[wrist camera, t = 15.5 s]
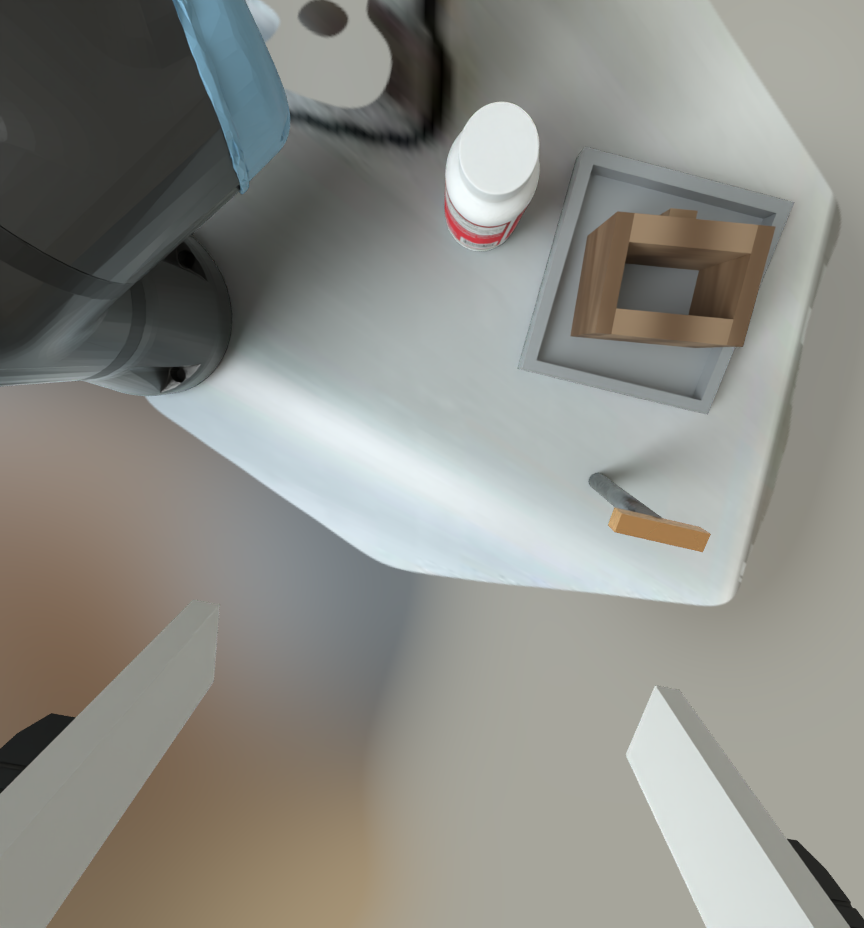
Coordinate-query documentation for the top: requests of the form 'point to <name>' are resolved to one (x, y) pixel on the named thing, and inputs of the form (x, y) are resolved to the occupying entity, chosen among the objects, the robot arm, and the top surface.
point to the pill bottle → (491, 175)
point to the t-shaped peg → (645, 519)
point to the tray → (635, 281)
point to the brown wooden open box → (683, 247)
